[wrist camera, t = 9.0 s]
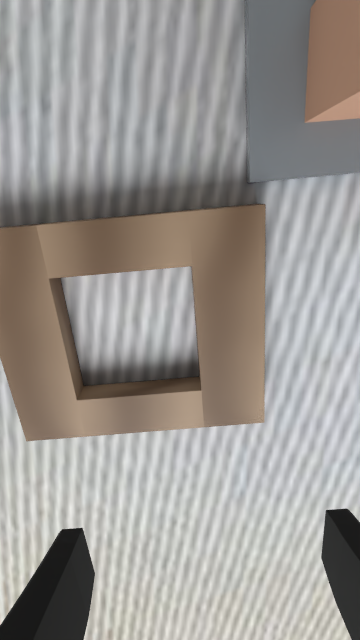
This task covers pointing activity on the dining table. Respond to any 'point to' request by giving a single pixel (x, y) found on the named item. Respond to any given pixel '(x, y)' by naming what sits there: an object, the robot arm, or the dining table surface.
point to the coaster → (288, 100)
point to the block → (333, 61)
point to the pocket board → (124, 256)
